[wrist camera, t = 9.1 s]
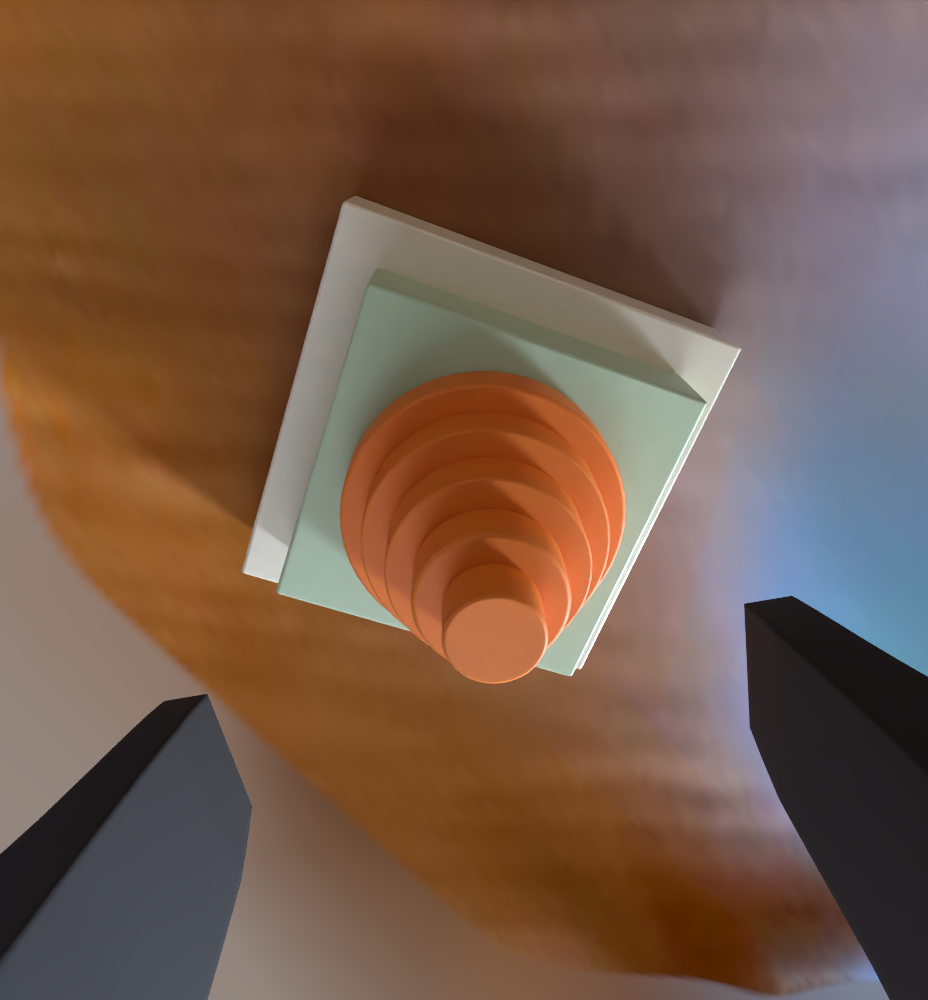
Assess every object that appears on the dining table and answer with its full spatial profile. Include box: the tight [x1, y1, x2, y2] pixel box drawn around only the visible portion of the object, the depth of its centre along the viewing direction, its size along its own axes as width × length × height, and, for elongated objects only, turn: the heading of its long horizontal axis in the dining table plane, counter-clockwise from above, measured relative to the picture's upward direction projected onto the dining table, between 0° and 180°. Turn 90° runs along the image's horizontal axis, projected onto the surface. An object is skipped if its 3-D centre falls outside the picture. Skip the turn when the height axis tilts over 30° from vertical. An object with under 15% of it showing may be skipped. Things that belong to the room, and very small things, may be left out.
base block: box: [242, 196, 741, 669], centre depth 19 cm, size 9×9×2 cm
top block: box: [276, 268, 707, 676], centre depth 17 cm, size 7×7×2 cm
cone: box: [340, 371, 626, 683], centre depth 14 cm, size 6×6×5 cm
